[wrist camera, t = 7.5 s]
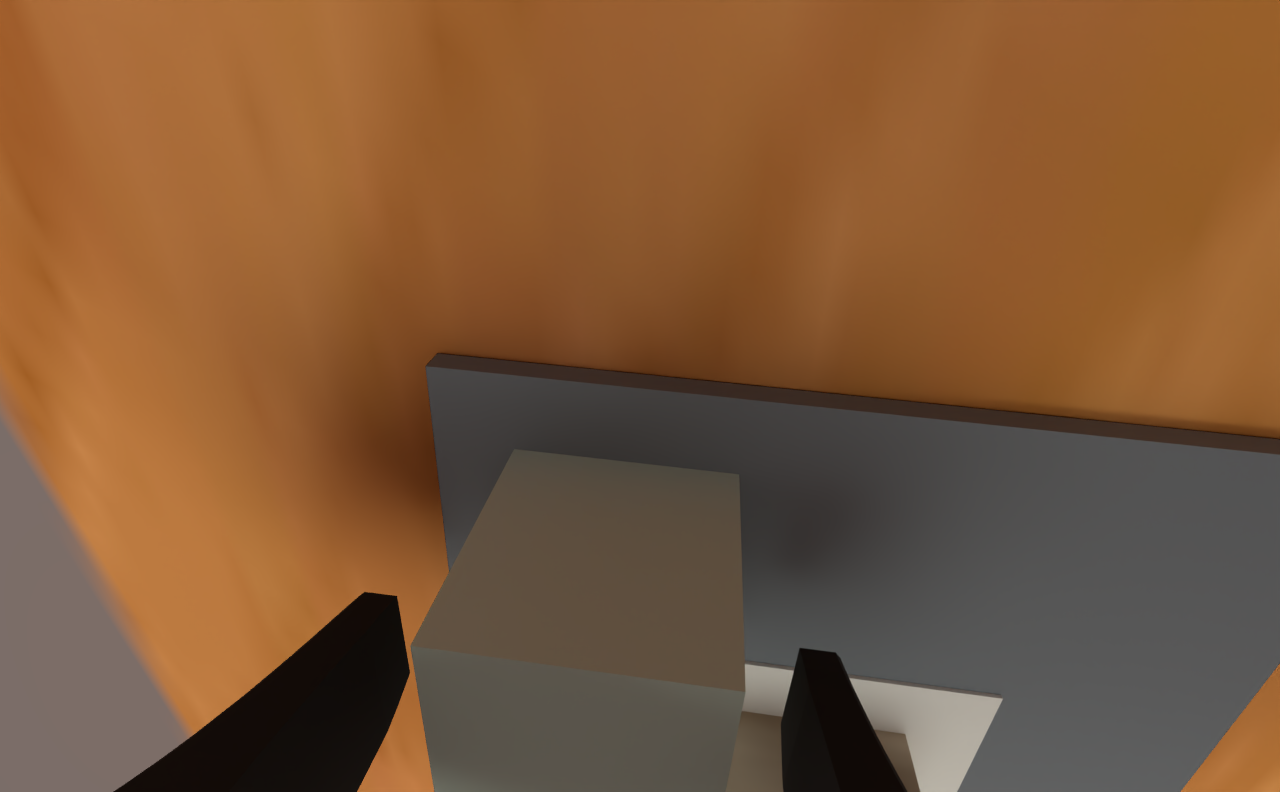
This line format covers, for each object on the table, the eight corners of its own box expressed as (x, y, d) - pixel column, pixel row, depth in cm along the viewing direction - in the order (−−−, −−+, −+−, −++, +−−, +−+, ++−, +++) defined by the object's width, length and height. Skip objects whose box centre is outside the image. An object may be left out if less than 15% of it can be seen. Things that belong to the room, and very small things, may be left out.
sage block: (739, 474, 13) (745, 692, 9) (714, 635, 15) (709, 873, 11) (514, 449, 13) (409, 645, 9) (521, 610, 16) (441, 831, 11)
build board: (1397, 451, 12) (1435, 473, 11) (1083, 881, 19) (1094, 908, 18) (437, 353, 13) (423, 368, 13) (482, 788, 20) (475, 811, 20)
